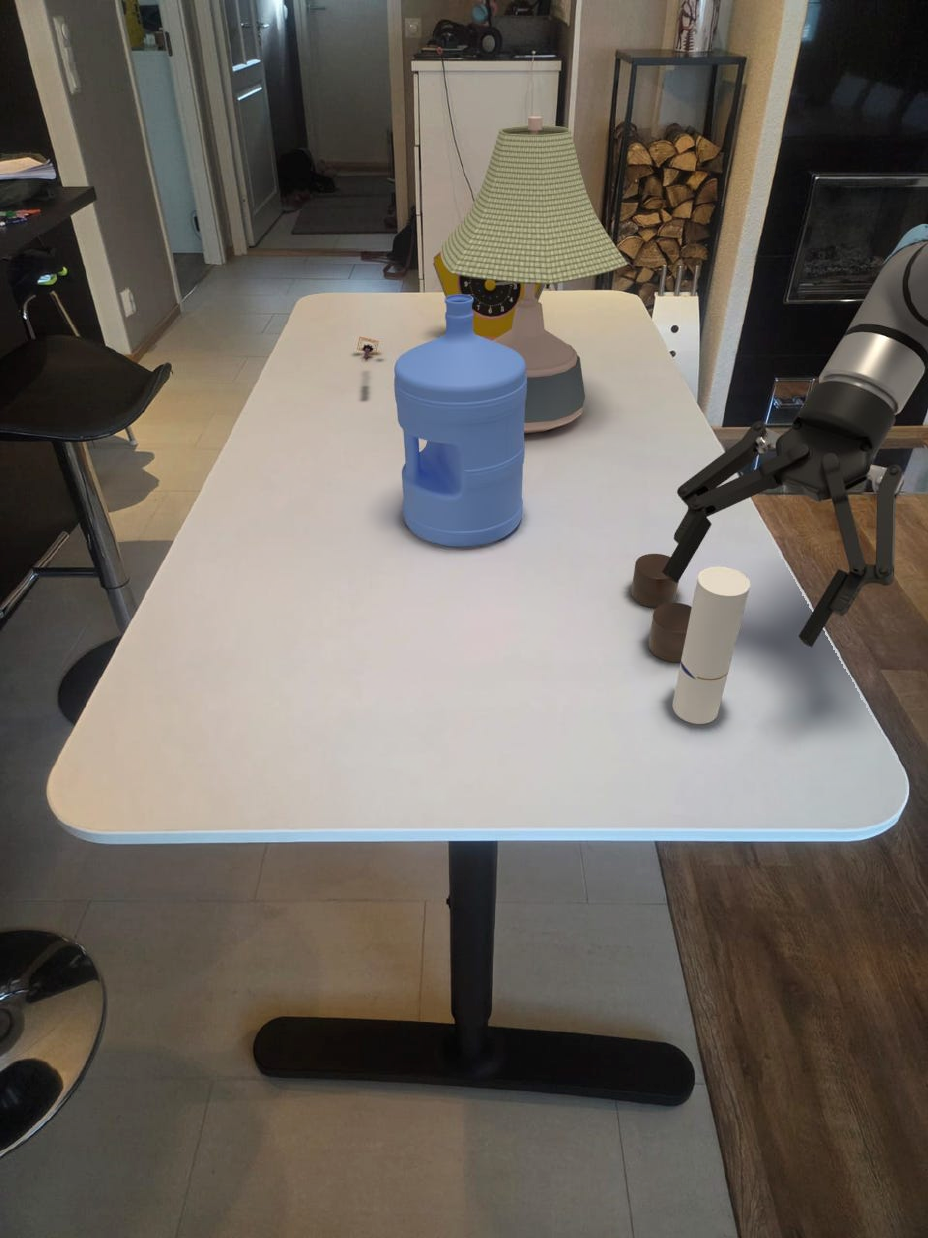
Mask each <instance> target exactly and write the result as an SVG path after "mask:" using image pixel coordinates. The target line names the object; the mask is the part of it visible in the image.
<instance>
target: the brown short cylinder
mask: <svg viewBox="0 0 928 1238" xmlns="http://www.w3.org/2000/svg"><path fill="white" fill-rule="evenodd" d="M670 557H671V556H670V555H666V554H662V553H647V554H644V555H641V556H639V557H638V558H637V559H636V560H635V563H634V569H633V577H632V583H631V591H630V594H631V598H632V599H633V600H634V601H635V602H636V603H638V604H639V605H641V606H644V607H647V608H653V609H656V608H657V607H658V606H660V605H662V604H666V603H675V601H676V599H677V595H678V594H677V593H678V587H679V582H680V580H679V581H678V583H676V582H674V581H671V580H670V579H669V578H668V577H667V576H666V575H665V574H664V573H663V572H662V571H663V569H664V568H665V566H666V564H667V563H668V561H669V559H670Z"/></svg>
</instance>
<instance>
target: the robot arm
mask: <svg viewBox="0 0 928 1238" xmlns="http://www.w3.org/2000/svg"><path fill="white" fill-rule="evenodd" d="M876 277H877V278H876V279H875V281H874V282H873V284H872V285H871V287H870V289H869V291H868V293H867V295H866V297H864V298H865V299H864V300H863V302H862V304H861V305H860V307H859V309H858V310H857V312H856V314H855V315H854V317H853V319H852V321H851V322H850V324H849V325H848V328H847V329H846V331H845V333H844V334H843V336H842V337H841V340H840V341H839V343H838V345H837V346H836V348H835V349H834V351H833V352H832V355H831V356H830V358H829V360H828V361H827V363H826V365H825V366H824V367H823V370H822V371H821V373H820V374H819V377H818V383H816V384H815V385H814V386H813V387H812V389H811V391H810V392H809V394H808V395H807V398H805V400H804V402H803V404H802V406H801V407H800V409H799V411H798V412H797V414H796V416H795V418H794V420H793V422H792V424H791V426H790V427H789V428H788V429H787V431H785V432H784V433H782V434H780V433H778V432H775V431H773V430H772V429H769V428H767V426H766V424H765V422H764V421H762V420H757V421H755V422H753V424H752V425H751V426H750V427H749V429H748V430H747V432H746V433H745V434H744V436H743V437H742V439H740V440H739V441H737V443H735V444H734V445H733V446H731V447H730V448H728V449H727V450H726V451H725V452H723V453H722V454H721V455H719V456H717V458H716V459H714V460H713V461H711V462H710V463H709V464H707V465H706V466H705V467H703V468H702V469H701V470H699V471H698V472H697V473H696V474H694V475H693V476H692V477H690V478H689V479H688V480H686V481H685V482H684V483H682V484H681V485H680V486H679V487H678V488H677V490H676V493H677V495H678V497H679V498H680V499H681V500H682V502H683V504H685V505H686V506H687V511H686V513H685V515H684V516H683V518H682V520H681V522H680V523H679V525H678V526H677V528H676V530H675V531H674V535H673V541H675V542H676V543H677V545H676V547H675V549H674V550H673V552H672V554H671V556H669V557H670V559H669V561H668V563H667V564H666V566H665V568H664V569H663V571H662V572H663V573H664V574H665V575H666V576H667V577H668V578H669V579H670V580H671V581H674V582H676V583H678V581H679V582H680V580H681V577H682V576H683V574H684V573H685V571H686V570H687V568H688V566H689V564H690V563H691V561H692V558H693V557H694V555H695V554H696V552H697V551H698V549H699V547H700V546H701V544H702V542H703V540H704V538H705V537H706V535H707V534H708V532H709V531H710V529H711V526H712V522H711V521H710V520H709V518H708V517H710V516H712V515H715V514H718V513H719V512H721V511H723V510H726V509H728V508H730V507H732V506H734V505H736V504H738V503H741V502H743V501H745V500H747V499H749V498H751V497H754V496H757V495H758V494H761V493H762V492H765V491H767V490H775V489H777V488H779V487H781V486H784V487H786V489H787V491H789V492H791V493H795V494H803V495H806V496H807V497H809V498H810V499H811V500H814V501H817V502H819V503H821V502H822V501H827V500H831V501H832V505H833V509H834V513H835V516H836V520H837V525H838V528H839V532H840V536H841V540H842V545H843V548H844V552H845V555H846V559H847V564H848V567H849V569H848V570H849V572H846V571H844V570H841V569H839V568H838V569H837V570H836V572H835V574H834V575H833V577H832V579H831V581H830V582H829V584H828V586H827V587H826V588H825V591H824V592H823V594H822V595H821V598H820V599H819V601H818V602H817V603H816V606H815V607H814V609H813V611H812V613H811V614H810V616H809V618H808V619H807V621H806V623H805V624H804V626H803V628H802V630H801V631H800V633H799V634H798V636H797V637H798V638H799V640H800V641H801V642H802V644H804V645H806V646H808V647H810V648H813V646H814V644H815V643H816V641H817V640H818V638H819V636H820V634H821V633H822V632H823V629H824V628H825V626H826V625H827V622H828V621H829V620H830V618H831V616H832V615H833V614H835V615H838V616H840V617H844V615H846V614H847V613H848V612H849V610H850V608H851V607H852V605H853V603H854V602H855V600H856V598H857V597H858V595H859V593H860V592H861V590H862V589H863V587H865V585H868V584H875V585H877V584H878V585H882V586H884V587H887V586H890V585H892V584H893V583H894V581H895V567H896V566H895V556H896V507H897V506H896V505H897V503H896V502H897V500H898V497H899V495H900V493H901V491H902V488H903V486H904V484H905V478H904V472H903V468H902V467H901V465H899V464H890V465H889V466H888V467H885V466H880V465H875V464H873V460H874V458H875V457H876V455H877V453H878V452H879V450H880V449H881V447H882V445H883V443H884V442H885V440H886V438H887V436H888V435H889V433H890V431H891V430H892V428H893V426H894V425H895V423H896V415H898V414H900V413H901V412H902V410H903V409H904V407H905V406H906V404H907V402H908V401H909V399H910V397H911V395H912V394H913V392H914V390H915V389H916V387H917V386H918V384H919V383H920V380H921V379H922V377H923V376H924V374H925V373H926V371H927V369H928V224H927V223H922V224H919V225H917V226H915V227H912V228H911V229H910V230H908V231H907V232H906V233H905V234H904V235H903V237H902V238H901V239H900V240H899V242H898V243H897V245H896V247H894V250H893V251H892V252H891V253H890V254H889V255H888V256H887V258H885V260H884V261H883V263H882V265H881V269H880V270H879V271H878V275H877V276H876ZM770 449H775V453H776V456H775V457H772V458H771V459H768V460H766V461H764V462H762V463H761V464H759V466H758V467H757V468H755V469H752V470H751V471H749V472H746V473H744V474H742V475H740V476H738V477H736V478H734V479H732V480H729V479H730V478H731V477H733V476H734V475H735V474H737V473H738V472H740V471H741V470H742V469H743V468H745V467H746V466H748V465H749V464H750V463H751V462H753V461H754V460H755V459H756V458H757V457H758V456H759V455H760V454H766V453H767V452H768V451H769V450H770ZM727 480H729V481H728V482H726V481H727ZM867 480H870V481H871V487H872V490H873V492H874V493H875V494H877V496H876V528H875V529H876V530H875V532H876V535H875V564H871V563H870V564H869V563H866V559H865V555H864V551H863V547H862V544H861V541H860V536H859V533H858V528H857V524H856V521H855V517H854V514H853V509H852V506H851V501H850V498H849V494H848V491H849V490H851V489H853V488H855V487H856V486H858V485H860V484H862V483H865V482H866V481H867ZM678 584H679V583H678Z"/></svg>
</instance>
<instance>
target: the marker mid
mask: <svg viewBox="0 0 928 1238" xmlns="http://www.w3.org/2000/svg"><path fill="white" fill-rule="evenodd" d="M691 609H692V605H689V604H685V603H682V602H673V603H666V604H662V605H660V606H658V607H657V608H654V610H653V613H652V619H651V624H650V629H649V636H648V644H647V645H648V646H647V647H648V649H649V651H650V652H651V653H652V654H653V656H655V657H657V658H658V659H661V660H662V661H666V662H672V663H681V659H682V654H683V649H684V644H685V639H686V634H687V629H688V624H689V619H690V614H691Z"/></svg>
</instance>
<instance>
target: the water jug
mask: <svg viewBox="0 0 928 1238" xmlns="http://www.w3.org/2000/svg"><path fill="white" fill-rule="evenodd" d="M444 303H445V309H446V310H445V312H444V319H445V332H444V334H443V335H441V336H438V337H436V338H434V339H431V340H429V341H426V342H424V343H421V344H419V345H417V346H415V347H412V348H411V349H408V350H407V351H405V352H404V353H402V354H401V355H400V356H399V357H398V358H397V360H396V361H395V364H394V371H393V372H394V379H393V389H394V398H395V403H396V413H397V414H396V415H397V422H398V424H399V427H400V428H401V429H402V431H403V445H404V462H405V463H404V464H403V466H402V469H401V485H402V497H403V498H402V513H403V514H402V515H403V519H404V522H405V525H406V526H407V527H408V529H409V530H410V531H411V532H412V533H414V534H415V535H416V536H418V537H419V538H421V539H423V540H425V541H427V542H430V543H433V544H435V545H441V546H446V547H452V548H453V547H457V548H466V547H467V548H469V547H470V548H471V547H477V546H483V545H487V544H491V543H494V542H497V541H499V540H501V539H503V538H505V537H507V536H509V535H510V534H511V533H512V532H513V531H515V529H516V528H517V527H518V526H519V524H520V522H521V520H522V518H523V511H524V508H523V506H524V500H523V478H524V477H523V476H524V475H523V473H524V463H525V454H526V453H525V451H526V450H525V448H526V446H525V444H526V443H525V433H524V418H525V400H526V394H527V376H526V363H525V361H524V359H523V357H522V356H521V355H520V354H519V353H518V352H516V351H515V350H513V349H511V348H509V347H507V346H504V345H502V344H499V343H496V342H494V341H491V340H489V339H486V338H483V337H481V336H478V335H476V334H475V333H474V331H473V312H472V303H473V297H472V296H469V295H464V294H456V295H450V296H447V297H444ZM420 440H423V441H426V443H425V446H424V448H423V449H421V450H420Z"/></svg>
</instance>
